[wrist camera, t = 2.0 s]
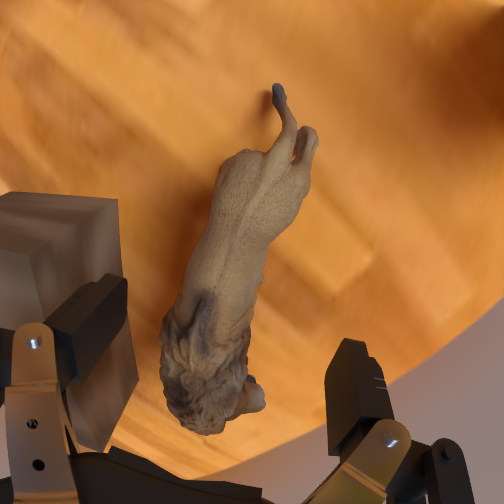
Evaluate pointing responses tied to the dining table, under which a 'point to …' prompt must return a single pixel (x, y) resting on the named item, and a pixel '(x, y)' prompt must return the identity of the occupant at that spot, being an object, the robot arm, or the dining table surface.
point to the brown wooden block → (67, 290)
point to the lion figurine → (231, 280)
